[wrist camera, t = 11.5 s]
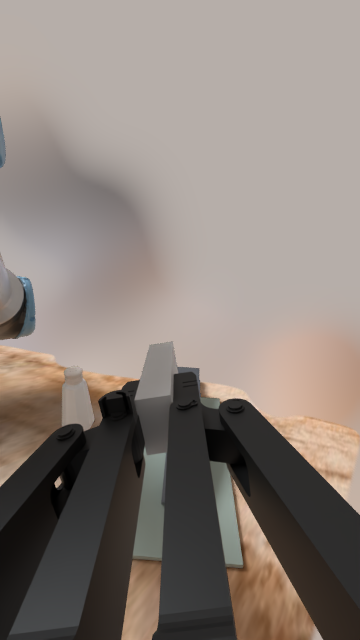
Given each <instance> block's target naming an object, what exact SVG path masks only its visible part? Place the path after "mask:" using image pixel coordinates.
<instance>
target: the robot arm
mask: <svg viewBox="0 0 360 640" xmlns="http://www.w3.org/2000/svg"><path fill="white" fill-rule="evenodd" d="M5 156H6V154H5V142H4V135H3V130H2V124H1V118H0V168H1V167H3V165H4V163H5ZM34 329H35V303H34V295H33V289H32V284H31V282H30V280H29V279H28V278H26V277H20V276H15V275H14V274H13V273H12V272H11V271H10V270H8V269H6V268H5V265H4V263H3V260H2V257H1V254H0V340H4V339H10V338H12V339H17V338H19V337H23V336H28V335H30V334H32V333H33V331H34ZM98 402H99V406H100V409H101V413H102V417H103V419H102V421H101V423H100V425H99V426H97V427H95V428H92V429H89V430H86V431H84V429H83V426H81V425H80V424H68V425H65V426H63V427H61V428H59V429H58V430H56V431H55V432H54V433H53V434H51V436H50V437H49V438H48V439H47V440H46V441H45V442H44V443H43V444H42V445H41V446H40V447H39V448H38V449H37V450H36V451H35V452H34V453H33V454H32V455H31V456H30V457H29V458H28V459H27V460H26V461H25V462H24V463H23V464H22V465H21V466H20V467H19V468H18V469H17V470H16V471H15V472H14V473H13V474H12V475H11V476H10V478H9V479H8V480H7V481H6V482H5V483H4V484H3V485H2V486H1V487H0V640H121V636H122V629H123V622H124V615H125V608H126V600H127V593H128V586H129V579H130V572H131V565H132V558H133V551H134V543H135V536H136V529H137V522H138V515H139V508H140V501H141V494H142V487H143V479H144V472H145V465H146V464H145V458H144V454H143V453H144V447H145V449H146V453H147V455H153V454H160V453H167V466H166V486H165V506H164V526H163V546H162V566H161V586H160V606H159V622H158V628H157V631H156V632H155V633H154V634H153V637H152V640H237V635H236V628H235V622H234V615H233V609H232V602H231V596H230V589H229V583H228V576H227V570H226V563H225V557H224V550H223V544H222V537H221V531H220V524H219V518H218V511H217V505H216V498H215V492H214V485H213V479H212V472H211V465H210V461H213V462H221V463H226V465H227V468H228V470H229V472H230V474H231V476H232V477H233V479H234V481H235V483H236V485H237V486H238V488H239V490H240V492H241V493H242V495H243V497H244V499H245V501H246V502H247V504H248V506H249V508H250V510H251V511H252V513H253V515H254V517H255V518H256V520H257V522H258V524H259V526H260V527H261V529H262V531H263V533H264V535H265V536H266V538H267V540H268V542H269V544H270V545H271V547H272V549H273V551H274V552H275V554H276V556H277V558H278V560H279V561H280V563H281V565H282V567H283V569H284V570H285V572H286V574H287V576H288V577H289V579H290V581H291V583H292V585H293V586H294V588H295V590H296V592H297V594H298V595H299V597H300V599H301V601H302V602H303V604H304V606H305V608H306V610H307V611H308V613H309V615H310V617H311V619H312V620H313V622H314V624H315V626H316V627H317V629H318V631H319V633H320V635H321V636H322V638H323V640H360V515H359V514H358V513H357V512H356V511H355V510H354V509H353V508H352V507H351V506H350V505H349V504H348V503H347V502H346V501H345V500H344V499H343V497H342V496H341V495H340V494H339V493H338V492H337V491H336V490H335V489H334V488H333V487H332V486H331V485H330V484H329V483H328V482H327V481H326V480H325V479H324V478H323V477H322V476H321V475H320V474H319V473H318V472H317V471H316V470H315V469H314V468H313V467H312V466H311V465H310V464H309V463H308V462H307V461H306V460H305V459H304V458H303V457H302V455H301V454H300V453H299V452H298V451H297V450H296V449H295V448H294V447H293V446H292V445H291V444H290V443H289V442H288V441H287V440H286V439H285V438H284V437H283V436H282V435H281V434H280V433H279V432H278V431H277V430H276V429H275V428H274V427H273V426H272V425H271V424H270V423H269V422H268V421H267V420H266V419H265V418H264V417H263V416H262V415H261V413H260V412H259V411H258V410H257V409H256V408H255V407H254V406H253V405H252V404H251V403H249V402H248V401H246V400H243V399H229V400H226V401H224V402H222V403H221V404H220V405H219V408H218V409H214V408H209V407H206V406H204V405H203V404H202V403H201V401H200V396H199V389H198V383H197V377H196V375H195V374H194V373H193V372H192V371H191V372H184V373H178V369H177V364H176V358H175V353H174V347H173V342H166V343H160V344H154V345H150V346H149V350H148V353H147V357H146V360H145V364H144V367H143V371H142V375H141V378H140V380H137V381H131V382H127V383H126V384H125V385H124V386H123V387H122V390H117V391H113V392H110V393H108V394H105V395H104V396H102V397H101V398H100V399H99V401H98ZM59 476H60V478H61V481H62V483H61V484H60V486H59V487H58V488H56V487H55V484H54V483H55V481H56V480H57V479H58V477H59Z"/></svg>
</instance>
